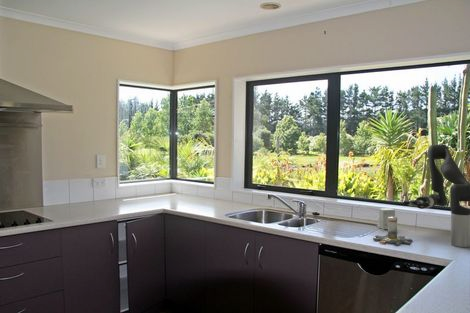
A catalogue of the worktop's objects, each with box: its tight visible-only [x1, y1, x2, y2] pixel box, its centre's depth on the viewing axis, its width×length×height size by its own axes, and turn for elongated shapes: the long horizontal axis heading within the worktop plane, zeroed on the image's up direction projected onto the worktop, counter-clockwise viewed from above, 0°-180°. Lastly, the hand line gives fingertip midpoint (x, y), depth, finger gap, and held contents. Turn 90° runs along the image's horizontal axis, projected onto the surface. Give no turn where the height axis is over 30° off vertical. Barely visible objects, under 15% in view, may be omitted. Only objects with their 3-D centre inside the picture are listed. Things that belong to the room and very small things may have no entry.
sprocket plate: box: [372, 234, 414, 247], centre depth 221 cm, size 21×21×2 cm
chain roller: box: [387, 216, 398, 239], centre depth 221 cm, size 5×5×12 cm
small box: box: [378, 207, 396, 230], centre depth 252 cm, size 8×6×13 cm
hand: (410, 204), depth 229 cm, fingers open, 8 cm apart
